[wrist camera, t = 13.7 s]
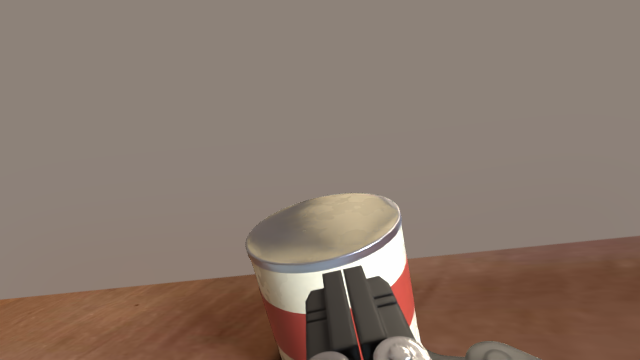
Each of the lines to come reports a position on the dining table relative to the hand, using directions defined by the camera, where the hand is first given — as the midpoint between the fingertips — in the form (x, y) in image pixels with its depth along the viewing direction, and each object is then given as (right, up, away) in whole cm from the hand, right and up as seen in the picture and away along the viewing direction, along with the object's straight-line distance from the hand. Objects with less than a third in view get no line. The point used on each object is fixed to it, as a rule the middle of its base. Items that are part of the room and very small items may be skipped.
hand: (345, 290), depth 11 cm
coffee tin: (+2, -12, +18) cm, 21 cm away
